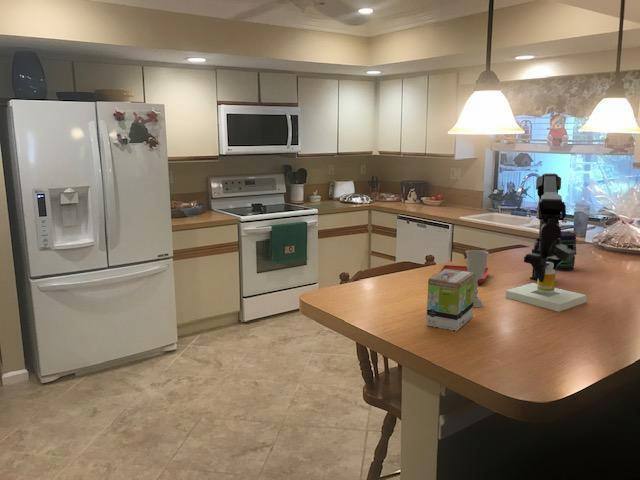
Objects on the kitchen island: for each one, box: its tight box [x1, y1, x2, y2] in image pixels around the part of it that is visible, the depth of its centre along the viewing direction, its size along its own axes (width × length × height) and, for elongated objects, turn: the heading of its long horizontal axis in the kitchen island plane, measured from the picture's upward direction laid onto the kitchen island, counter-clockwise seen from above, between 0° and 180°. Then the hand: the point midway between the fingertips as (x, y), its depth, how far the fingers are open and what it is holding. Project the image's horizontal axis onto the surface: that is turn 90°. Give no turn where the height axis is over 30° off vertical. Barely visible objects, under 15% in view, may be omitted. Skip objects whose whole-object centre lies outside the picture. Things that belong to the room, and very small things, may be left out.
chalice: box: [465, 249, 489, 308], centre depth 178 cm, size 7×7×18 cm
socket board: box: [504, 282, 587, 313], centre depth 184 cm, size 20×16×2 cm
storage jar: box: [556, 230, 577, 272], centre depth 225 cm, size 10×10×15 cm
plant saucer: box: [438, 264, 490, 285], centre depth 213 cm, size 18×18×3 cm
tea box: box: [425, 269, 475, 332], centre depth 163 cm, size 15×10×15 cm
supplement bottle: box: [536, 262, 556, 293], centre depth 183 cm, size 5×5×10 cm
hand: (546, 280), depth 183 cm, fingers closed on supplement bottle, 5 cm apart
